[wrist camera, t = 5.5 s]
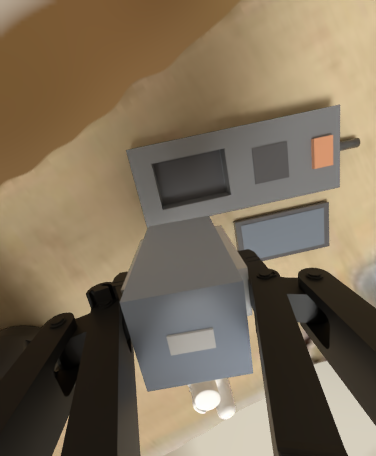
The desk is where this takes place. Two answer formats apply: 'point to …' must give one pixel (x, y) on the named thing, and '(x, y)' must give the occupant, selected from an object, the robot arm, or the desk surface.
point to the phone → (285, 231)
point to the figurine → (213, 397)
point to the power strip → (239, 166)
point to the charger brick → (186, 307)
